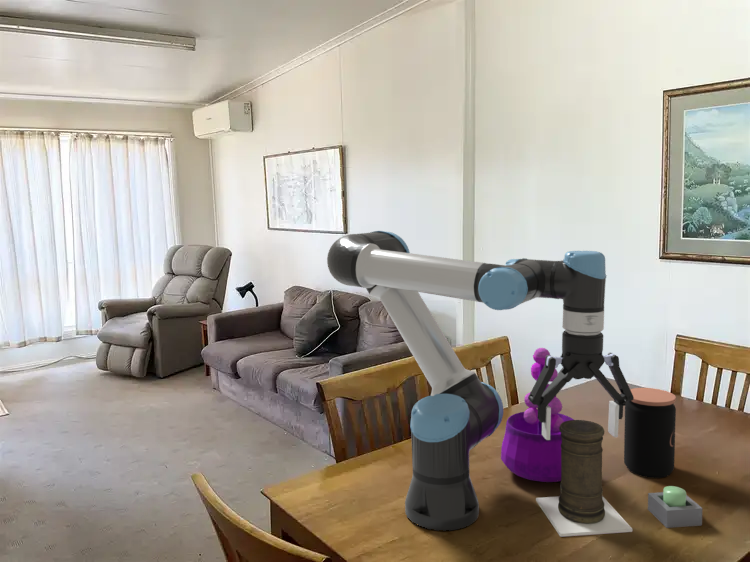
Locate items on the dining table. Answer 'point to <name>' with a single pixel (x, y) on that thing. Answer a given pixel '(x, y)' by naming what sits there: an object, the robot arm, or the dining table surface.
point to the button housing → (675, 512)
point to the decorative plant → (534, 436)
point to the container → (581, 472)
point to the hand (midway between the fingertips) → (579, 436)
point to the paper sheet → (570, 528)
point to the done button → (674, 496)
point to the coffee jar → (650, 433)
